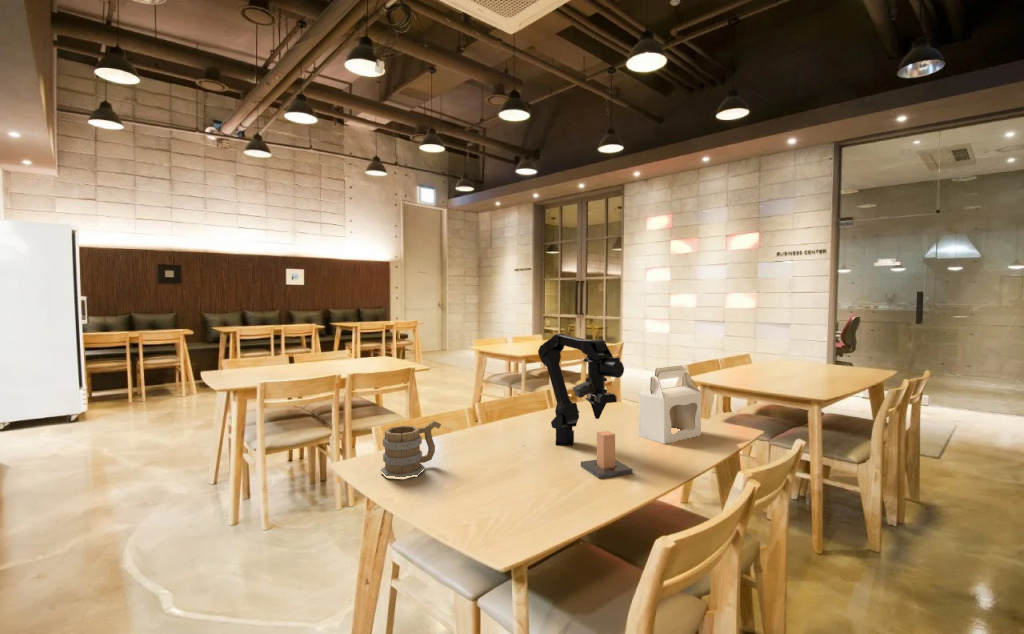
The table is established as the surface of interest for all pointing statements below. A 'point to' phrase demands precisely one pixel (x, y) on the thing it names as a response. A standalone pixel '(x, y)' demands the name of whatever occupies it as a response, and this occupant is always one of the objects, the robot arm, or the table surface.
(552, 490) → the table surface
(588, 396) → the robot arm
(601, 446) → the block
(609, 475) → the plate
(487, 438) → the table surface
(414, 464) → the tankard
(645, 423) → the gable box
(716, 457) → the table surface
